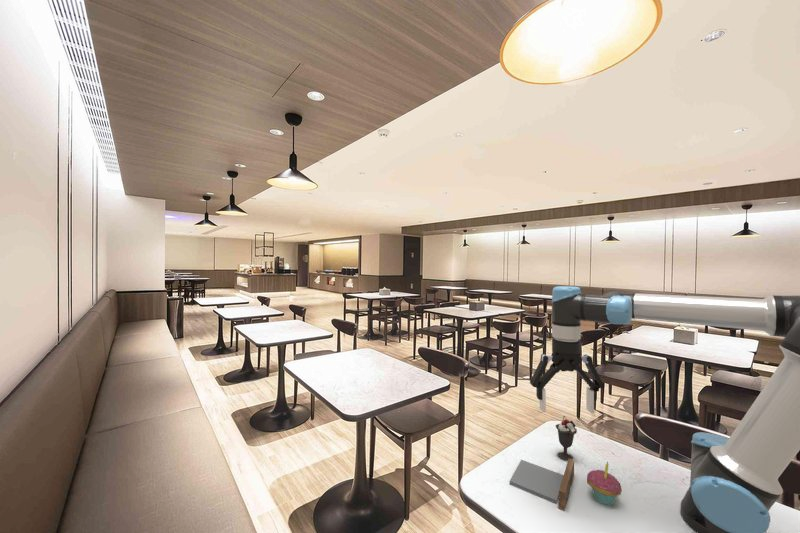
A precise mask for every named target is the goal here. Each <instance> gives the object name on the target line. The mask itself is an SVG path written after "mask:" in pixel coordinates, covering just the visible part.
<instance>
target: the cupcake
mask: <svg viewBox="0 0 800 533" xmlns="http://www.w3.org/2000/svg"><path fill="white" fill-rule="evenodd" d="M608 471H609V461H607V462H606V463H605V467H604V470H601V469H595V470H594V469H593V470H590V471H589V472H588V473H587V474H586V482H587V484H588V486H590V487H591V489H592V492H593V496H594V498H595V500H596V501H598V502H600V503H601V504H604V505H610V506H611V505H613V504H614V503H615V500H616V499H617V497H618V496H620V495H622V494H621V493H622V491H623V490H622V484H621V482H620V481H619V480H618V479H617V478H616V477H615V476H614V475H613V474H611V473H608Z"/></svg>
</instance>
